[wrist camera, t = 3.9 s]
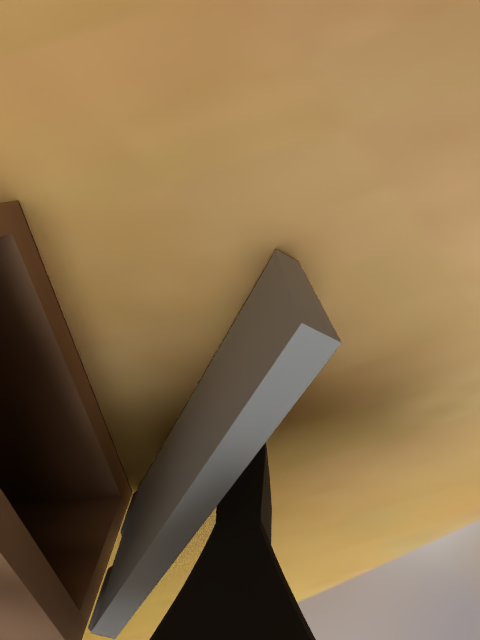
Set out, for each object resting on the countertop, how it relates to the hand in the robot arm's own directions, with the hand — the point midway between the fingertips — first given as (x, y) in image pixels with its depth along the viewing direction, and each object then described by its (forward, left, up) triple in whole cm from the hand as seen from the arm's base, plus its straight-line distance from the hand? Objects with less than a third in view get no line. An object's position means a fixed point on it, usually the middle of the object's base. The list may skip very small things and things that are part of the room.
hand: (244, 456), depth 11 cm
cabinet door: (-1, +1, -2) cm, 2 cm away
